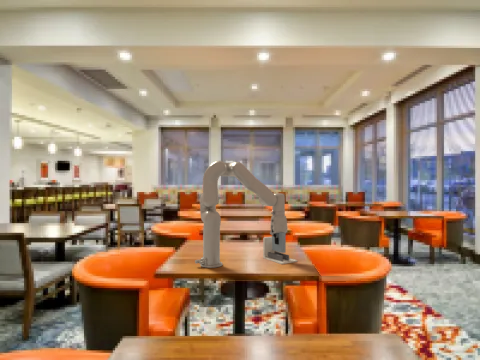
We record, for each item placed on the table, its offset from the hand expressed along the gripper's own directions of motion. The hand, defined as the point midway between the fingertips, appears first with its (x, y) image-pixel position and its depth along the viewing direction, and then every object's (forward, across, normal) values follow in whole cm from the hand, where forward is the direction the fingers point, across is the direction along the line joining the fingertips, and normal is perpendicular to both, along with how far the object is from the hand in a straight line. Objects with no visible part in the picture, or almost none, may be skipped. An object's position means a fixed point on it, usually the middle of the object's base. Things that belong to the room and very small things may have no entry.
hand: (278, 243), depth 191 cm
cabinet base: (+10, +1, 0) cm, 10 cm away
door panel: (+5, 0, 0) cm, 5 cm away
